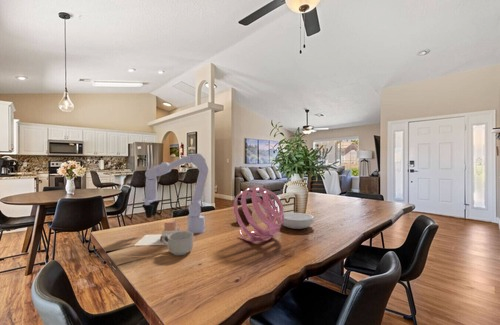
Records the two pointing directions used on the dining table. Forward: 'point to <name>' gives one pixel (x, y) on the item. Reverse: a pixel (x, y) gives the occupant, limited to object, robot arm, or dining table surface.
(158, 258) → the dining table surface
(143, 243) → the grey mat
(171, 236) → the teacup
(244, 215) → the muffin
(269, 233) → the pink lattice sphere
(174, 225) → the terracotta block
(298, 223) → the serving bowl
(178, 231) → the cream block
